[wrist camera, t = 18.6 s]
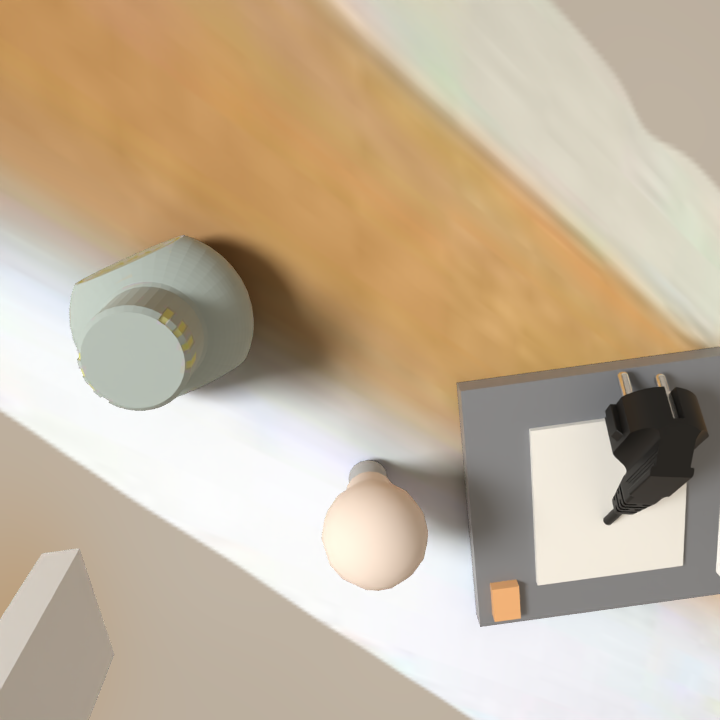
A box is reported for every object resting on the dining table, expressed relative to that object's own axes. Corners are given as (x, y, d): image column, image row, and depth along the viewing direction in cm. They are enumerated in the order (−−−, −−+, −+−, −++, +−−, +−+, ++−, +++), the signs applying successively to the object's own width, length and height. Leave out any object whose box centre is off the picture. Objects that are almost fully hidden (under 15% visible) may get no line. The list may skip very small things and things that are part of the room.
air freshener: (220, 215, 43) (190, 246, 33) (276, 331, 45) (264, 389, 36) (66, 283, 44) (-5, 331, 34) (131, 392, 46) (81, 464, 37)
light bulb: (364, 413, 48) (376, 497, 37) (431, 468, 49) (459, 562, 39) (302, 475, 49) (297, 573, 39) (369, 526, 51) (381, 633, 41)
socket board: (456, 382, 47) (463, 396, 45) (742, 343, 47) (762, 354, 45) (476, 613, 54) (482, 634, 52) (725, 579, 54) (742, 598, 52)
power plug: (571, 530, 48) (643, 456, 39) (554, 436, 53) (616, 347, 43) (648, 533, 49) (739, 460, 39) (625, 438, 53) (702, 351, 43)
